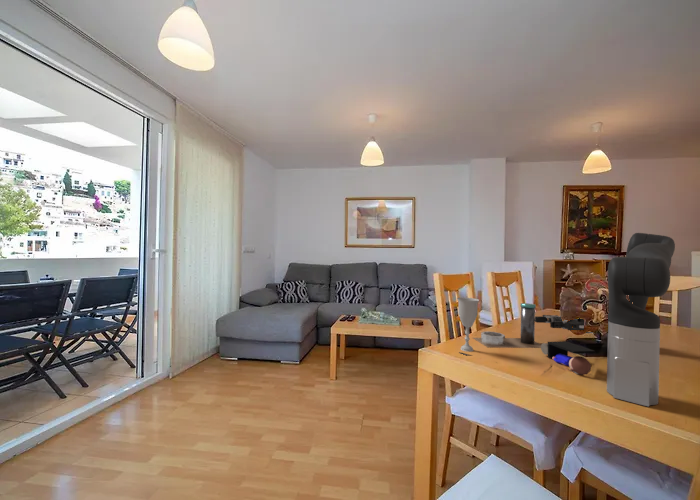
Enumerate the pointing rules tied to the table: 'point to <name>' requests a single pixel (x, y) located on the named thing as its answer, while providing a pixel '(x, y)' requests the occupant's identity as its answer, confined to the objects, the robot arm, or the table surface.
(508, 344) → the grey flat rectangular plate
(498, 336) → the collar
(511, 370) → the table surface
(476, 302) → the chalice
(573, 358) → the figurine character
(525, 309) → the dark jar with lid
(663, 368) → the table surface
